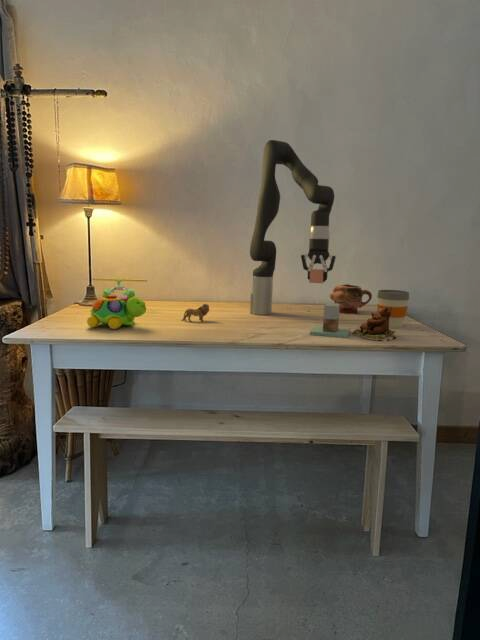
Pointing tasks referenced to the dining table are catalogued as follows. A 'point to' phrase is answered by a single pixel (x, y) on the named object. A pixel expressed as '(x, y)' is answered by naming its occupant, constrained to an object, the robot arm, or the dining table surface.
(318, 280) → the red brick
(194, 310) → the lion figurine
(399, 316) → the reusable coffee cup
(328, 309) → the slate brick
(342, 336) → the baseplate
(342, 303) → the brown ceramic mug
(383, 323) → the bear figurine
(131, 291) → the toy helicopter
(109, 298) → the turtle toy
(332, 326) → the walnut brick
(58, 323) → the dining table surface
